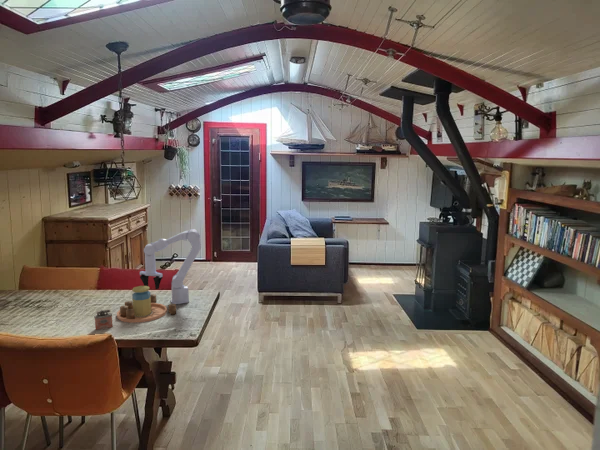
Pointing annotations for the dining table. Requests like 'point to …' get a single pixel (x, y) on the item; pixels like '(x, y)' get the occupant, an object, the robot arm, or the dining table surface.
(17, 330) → the dining table surface
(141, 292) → the jar
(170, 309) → the bead
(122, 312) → the seated bead
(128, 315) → the seated bead
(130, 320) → the dish
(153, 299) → the bead
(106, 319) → the lighter
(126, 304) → the seated bead
